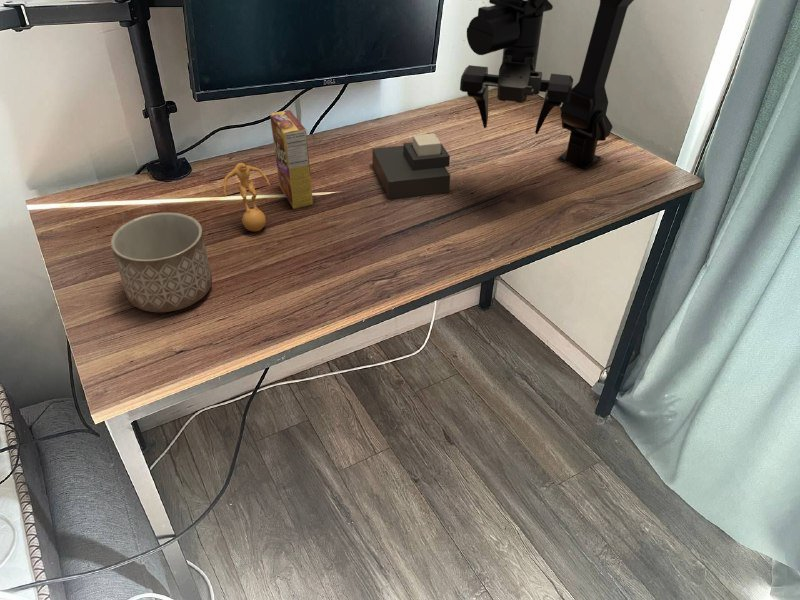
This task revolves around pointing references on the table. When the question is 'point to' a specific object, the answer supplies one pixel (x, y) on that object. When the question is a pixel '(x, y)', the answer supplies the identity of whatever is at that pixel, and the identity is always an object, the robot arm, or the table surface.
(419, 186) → the stepped base
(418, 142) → the cream block
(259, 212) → the figure on ball
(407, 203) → the table surface
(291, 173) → the candy box
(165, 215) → the planter
